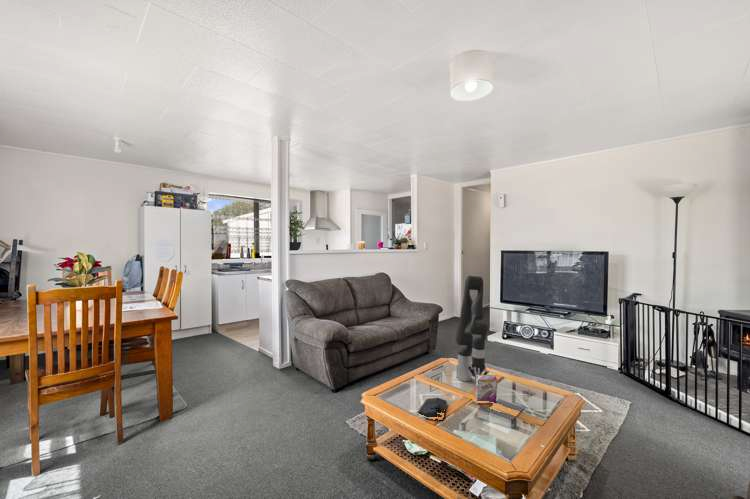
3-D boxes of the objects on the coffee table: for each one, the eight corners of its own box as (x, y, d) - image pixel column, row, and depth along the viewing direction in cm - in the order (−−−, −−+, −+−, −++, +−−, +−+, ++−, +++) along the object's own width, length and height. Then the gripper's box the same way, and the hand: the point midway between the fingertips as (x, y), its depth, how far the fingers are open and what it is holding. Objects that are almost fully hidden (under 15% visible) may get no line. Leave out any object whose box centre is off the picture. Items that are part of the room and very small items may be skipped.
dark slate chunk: (450, 404, 192) (450, 396, 192) (442, 423, 172) (442, 414, 171) (425, 399, 198) (425, 391, 198) (415, 417, 178) (415, 408, 178)
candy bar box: (477, 404, 192) (477, 379, 188) (475, 398, 197) (475, 374, 193) (496, 404, 191) (497, 379, 187) (494, 398, 195) (495, 374, 192)
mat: (485, 410, 184) (485, 409, 184) (498, 399, 197) (498, 398, 197) (512, 420, 174) (512, 419, 174) (524, 408, 187) (524, 407, 187)
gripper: (465, 354, 199) (465, 382, 199) (486, 360, 189) (485, 389, 190) (471, 351, 204) (471, 379, 204) (491, 356, 195) (491, 385, 195)
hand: (478, 384), depth 197 cm, fingers closed
